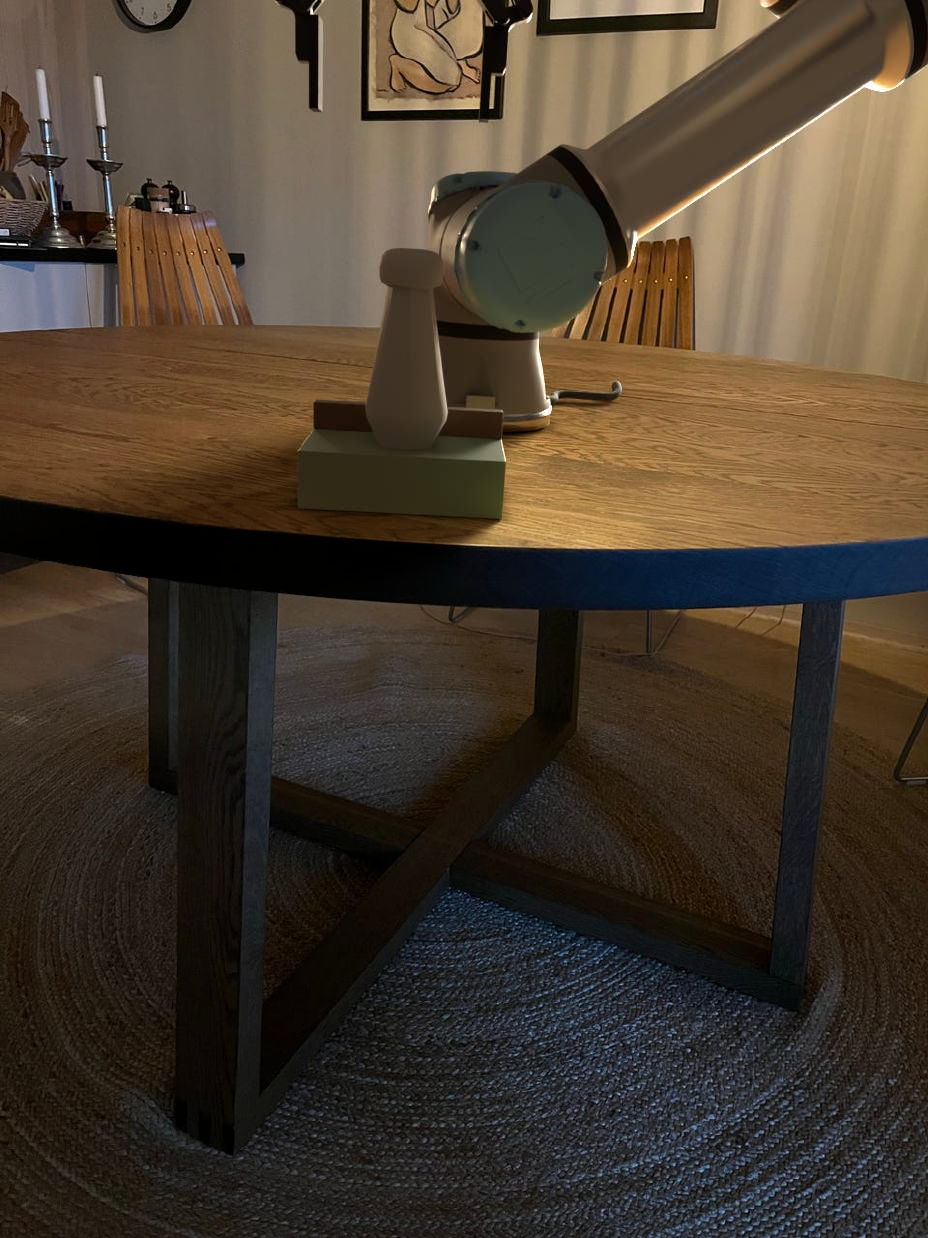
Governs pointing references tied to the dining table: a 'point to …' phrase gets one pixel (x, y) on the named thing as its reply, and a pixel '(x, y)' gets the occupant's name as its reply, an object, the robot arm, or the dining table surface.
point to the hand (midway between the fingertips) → (399, 115)
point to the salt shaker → (408, 354)
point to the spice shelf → (403, 466)
